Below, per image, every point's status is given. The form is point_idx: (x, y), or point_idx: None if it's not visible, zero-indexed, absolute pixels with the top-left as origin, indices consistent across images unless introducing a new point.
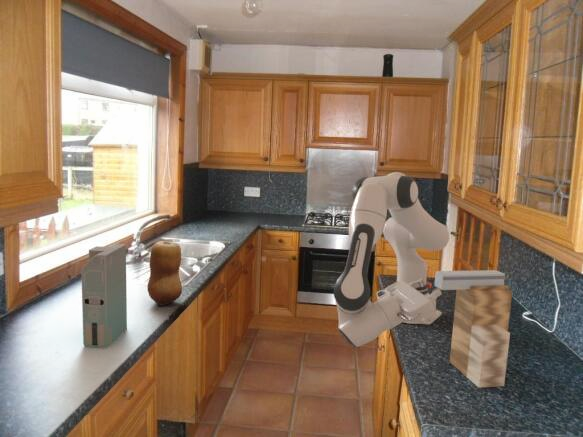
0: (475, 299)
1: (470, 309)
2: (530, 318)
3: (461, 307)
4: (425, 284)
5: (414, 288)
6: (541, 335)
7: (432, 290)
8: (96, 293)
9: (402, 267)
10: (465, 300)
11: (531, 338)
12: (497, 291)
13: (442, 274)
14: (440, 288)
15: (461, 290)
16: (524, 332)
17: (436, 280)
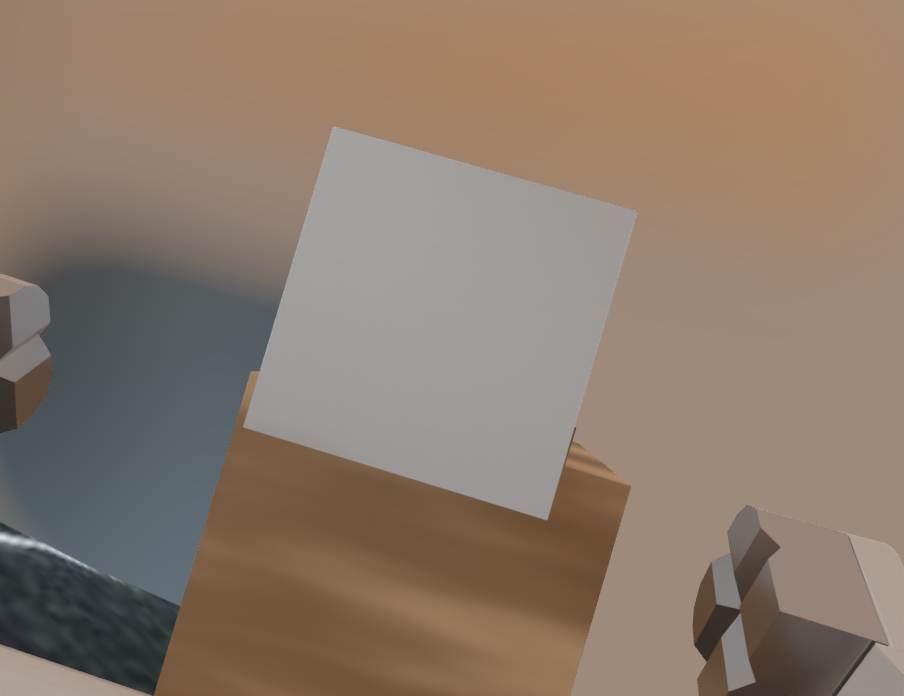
0: (604, 567)
1: (505, 689)
2: (13, 535)
3: (310, 671)
4: (33, 407)
5: (6, 649)
6: (140, 613)
7: (790, 604)
8: None
9: None
10: (410, 586)
11: (133, 644)
12: (590, 454)
13: (579, 199)
14: (504, 487)
15: (335, 469)
16: (74, 618)
17: (346, 319)
